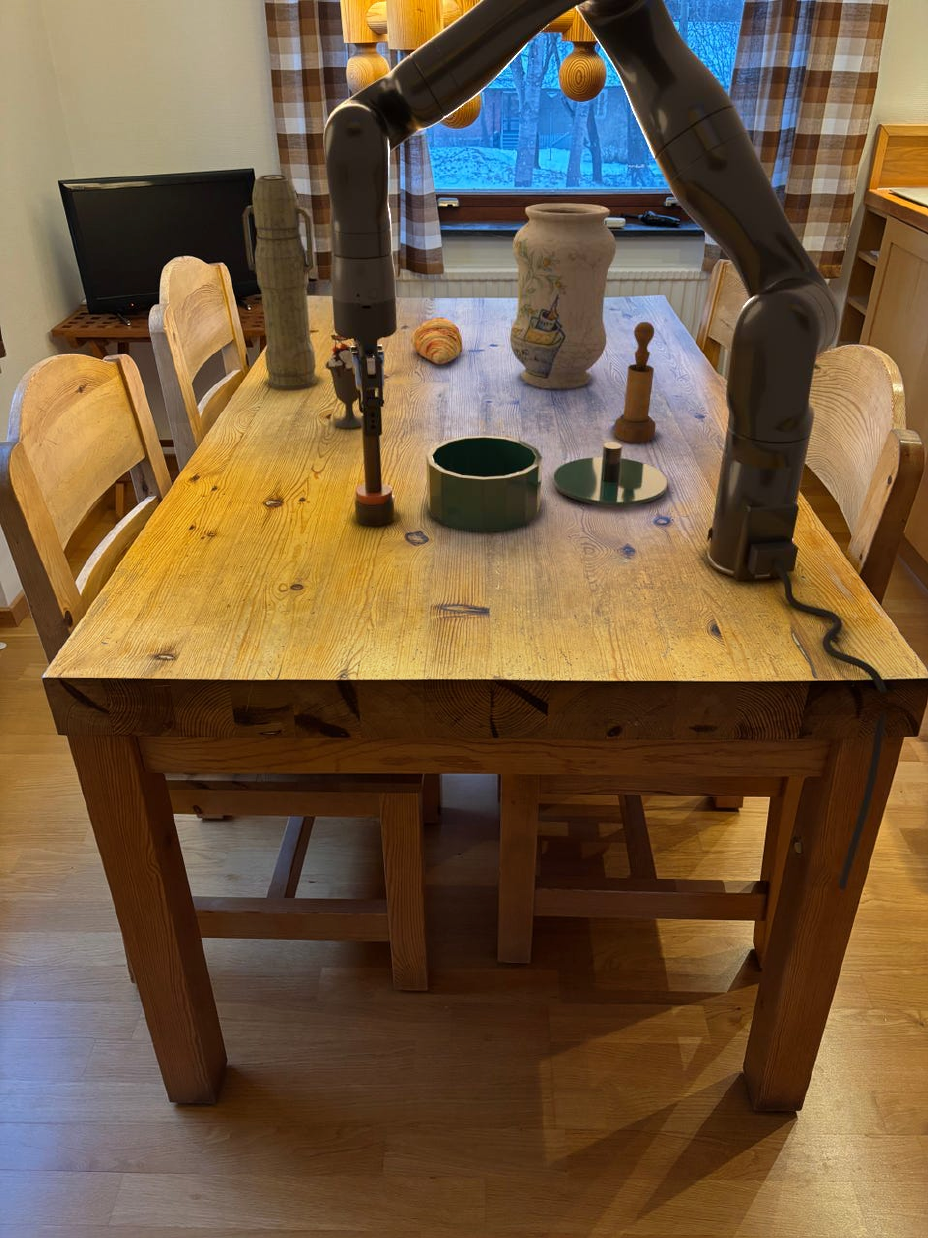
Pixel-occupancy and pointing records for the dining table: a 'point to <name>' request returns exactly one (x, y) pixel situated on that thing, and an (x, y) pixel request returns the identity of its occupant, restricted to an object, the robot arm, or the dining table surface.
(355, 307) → the robot arm
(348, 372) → the sundae
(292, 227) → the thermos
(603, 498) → the lid
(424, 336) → the croissant
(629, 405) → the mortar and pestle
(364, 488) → the brush
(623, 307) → the dining table surface
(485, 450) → the pot
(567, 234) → the vase
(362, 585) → the dining table surface
